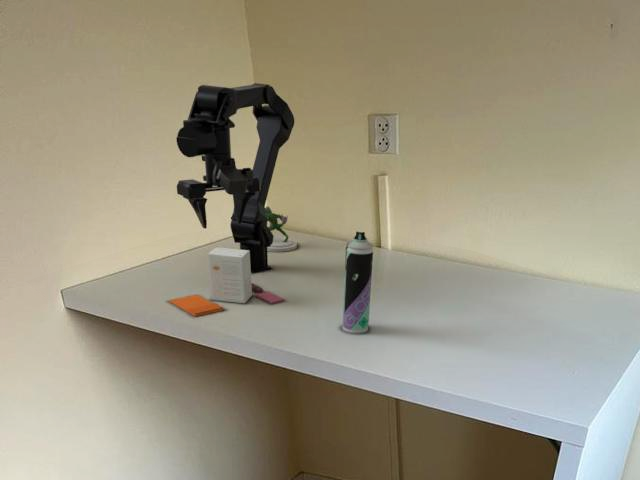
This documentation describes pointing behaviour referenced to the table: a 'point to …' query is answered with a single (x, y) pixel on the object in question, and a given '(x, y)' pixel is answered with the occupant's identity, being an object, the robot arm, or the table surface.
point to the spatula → (265, 295)
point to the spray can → (357, 284)
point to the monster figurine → (281, 242)
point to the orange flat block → (196, 305)
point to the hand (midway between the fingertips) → (221, 225)
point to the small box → (230, 275)
